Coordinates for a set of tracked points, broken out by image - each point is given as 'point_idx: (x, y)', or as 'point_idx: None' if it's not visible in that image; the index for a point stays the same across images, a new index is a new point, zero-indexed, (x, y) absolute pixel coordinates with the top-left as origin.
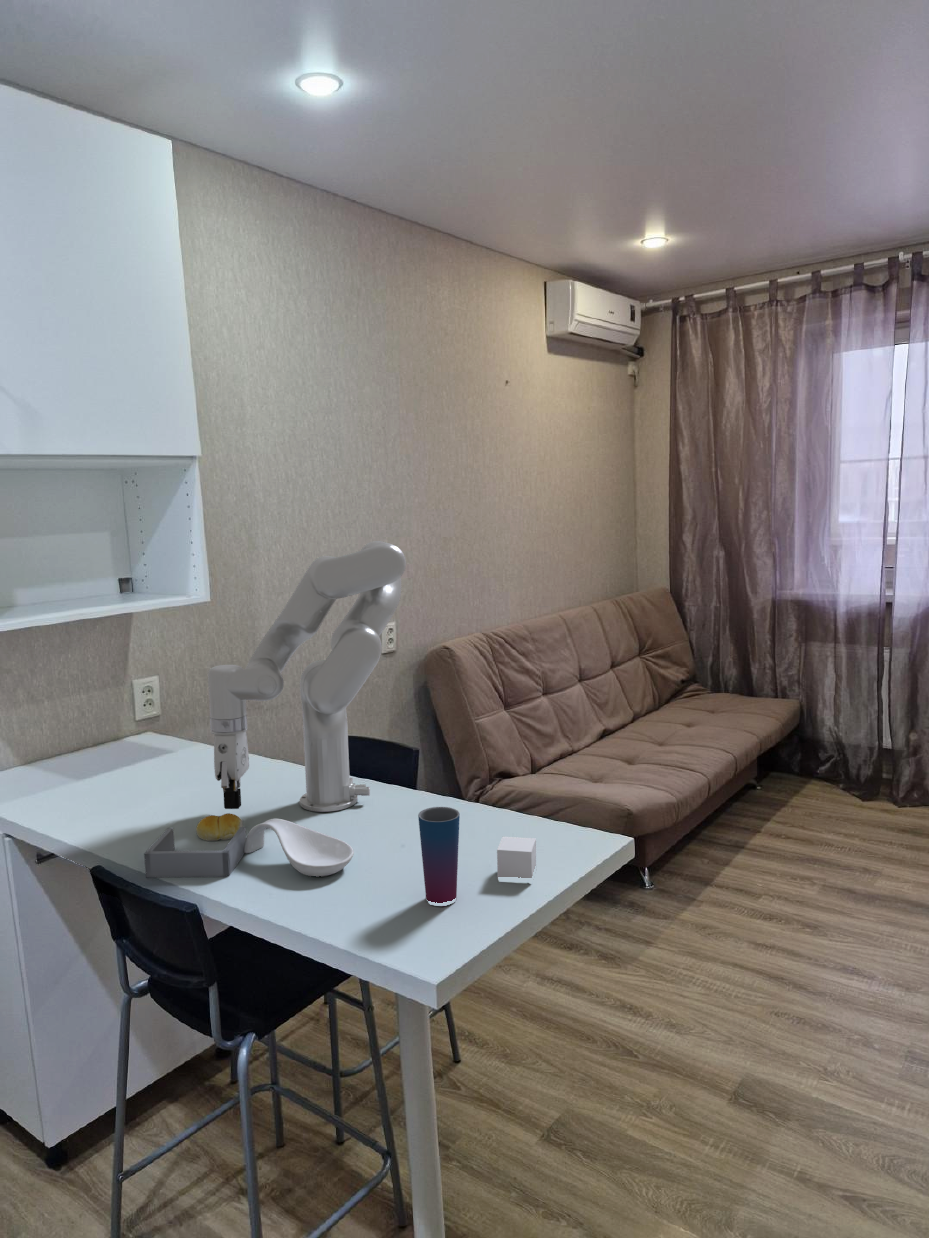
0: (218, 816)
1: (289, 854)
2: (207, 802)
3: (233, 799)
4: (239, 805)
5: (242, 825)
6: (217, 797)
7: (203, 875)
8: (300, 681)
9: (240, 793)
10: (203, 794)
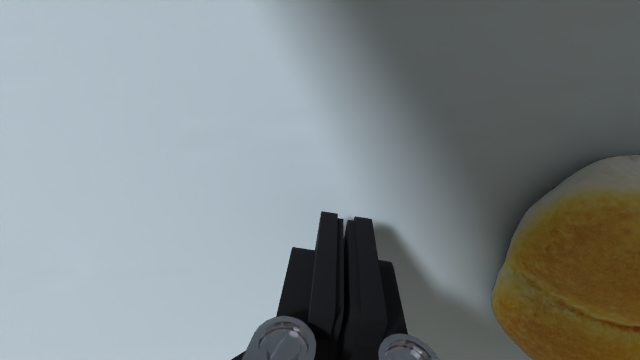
0: (604, 328)
1: None
2: (161, 328)
3: (398, 295)
4: (363, 224)
5: (628, 162)
6: (94, 301)
7: None
8: None
9: (321, 272)
10: (70, 345)
